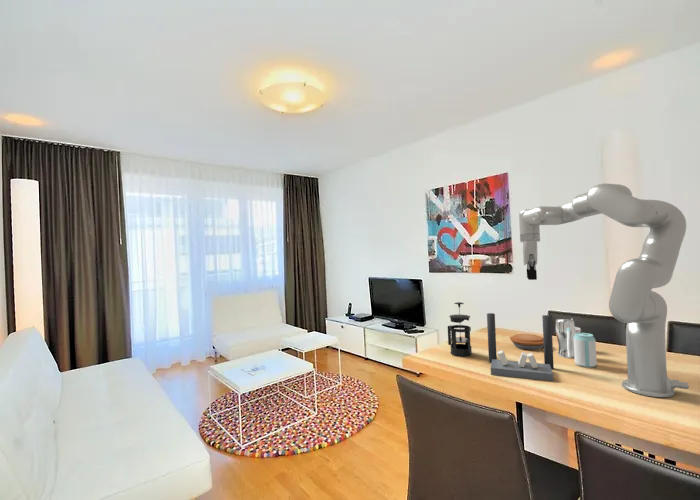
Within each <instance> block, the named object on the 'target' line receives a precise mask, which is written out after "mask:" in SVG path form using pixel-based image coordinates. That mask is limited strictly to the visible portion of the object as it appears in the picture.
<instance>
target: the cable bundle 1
mask: <svg viewBox="0 0 700 500" xmlns="http://www.w3.org/2000/svg"><path fill="white" fill-rule="evenodd" d="M486 321H487V322H486V324H487V325H486V326H487V349H488V363H489V364H491V363H492V359H497V360H498V357H497V356H498V353H497V338H496V334H497V333H496V314H495V313H492V312H488V313H486Z"/></svg>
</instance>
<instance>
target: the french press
mask: <svg viewBox="0 0 700 500" xmlns="http://www.w3.org/2000/svg"><path fill="white" fill-rule="evenodd" d="M464 304H465V302H460V301H458V302H454V305H457V307H458V314H451V315H449V316H448V317H449V318H450V322H451V323H458V324H454V325H447V340H448V342H447V344H448V346H450V353H451V354H452V356H454V357H458V356H460V358H462V357H463V358H464V357H465V358H466V357H467V358H469V357H471V356H472V355H473V351H472V349H473V348H472V347H473V346H472V345H471V329H472V328H471V326H468V325H464V324H461V323H462V322H464V321H468V322H469V321H470V318H471V316H470V315H467V314H461V305H464ZM457 333H459V337H457ZM462 333H464V336H463V337H462ZM451 354H450V355H451Z"/></svg>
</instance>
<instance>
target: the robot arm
mask: <svg viewBox="0 0 700 500" xmlns="http://www.w3.org/2000/svg"><path fill="white" fill-rule="evenodd" d="M600 214H603V215H605V216H606V217H608V218H610V219H612V220H614V221H616V222H617V223H620V224H621V225H624V226H626V227H630V228H649V229H650V230H649V232H648V234H647V236H646V237H645V238H644V241H643V243H642V248H641V251H640V253H639V257H638V258H631V259H629V260H626V261H625V262H624V263H622V264H621V265H620V267H619V268H618V270H617V272H616V275H615V278H614V282H613V285H612V289H611V292H610V296H609V300H608V309H609V311H610V314H611V316H612V317H613V318H614V319H615V320H617V321H618V322H621V323H624V324H626V326H625V345H626V346H625V347H626V363H627V364H626V367H627V379H624V380H622V381H621V385H622V387H623V388H624V389H625V390H627V391H629V392H632V393H636V394H639V395H642V396H646V397H653V398H672V397H673V396H675V392H676V391H675V389H676V388H677V389H683V390H689V388H690V386H689V383H688V382H684V381H680V380H679V379H671V378H669V377H668V372H667V371H668V369H667V351H666V349H667V348H666V343H667V342H666V323H667V316H668V305H667V302H666V300H665V298H664V297H663V296H662V295H660V293H658V292H656V291H654V290H652V289H658V288H663V287H665V286H666V285H668V284H669V283H670V282H671V280H672V278H673V274H674V271H675V267H676V265H677V261H678V258H679V254H680V251H681V248H682V247H681V246H682V245H683V242H684V239H685V238H684V237H685V236H686V230H687V221H686V217H685V215H684V213H683V211H682V210H681V209H679V208H678V207H677V206H675V205H674V204H672V203H669V202H667V201H664V200H657V199H642V198H641V199H640V198H637V197H635V196H633V193H632V191H631V189H630V188H628V187H627V186H626V185H624V184H623V185H622V184H619V183H618V184H617V183H599V184H596V185H594V186H593V187H591V188H590V189H589V191H587V192H585V193H581V194H578V195H576V196H575V197H573V199H572V202H570V203H567V204H563V205H559V206H547V205H546V206H537V207H534V208H529V209H527V208H526V209H522V210H520V211H519V213H518V218H519V220H518V221H519V240H520V241H519V242H520V243H522V256H523V257H522V260H523V265H524V266H526V278H527V279H528V280H531V281H533V280H534V281H536V280H537V278H538V275H537V268H536V267H537V264H538V242H541V233H540V232H541V231H540V230H541V229H540V227H541V226H558V225H564V224H567V223H573V222H576V221H579V220H582V219H585V218H588V217H591V216H592V217H593V216H596V215H600Z"/></svg>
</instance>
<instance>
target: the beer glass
mask: <svg viewBox="0 0 700 500" xmlns="http://www.w3.org/2000/svg"><path fill="white" fill-rule="evenodd" d="M575 327H576V325H575V321H574V319H573V320H571V319H568V318H562V319H561V318H557V319H555V335H556V339H557V343H558V352H557V356H559V357H561V358H567V359H575V357H574V349H573V346H574V336H575Z"/></svg>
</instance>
